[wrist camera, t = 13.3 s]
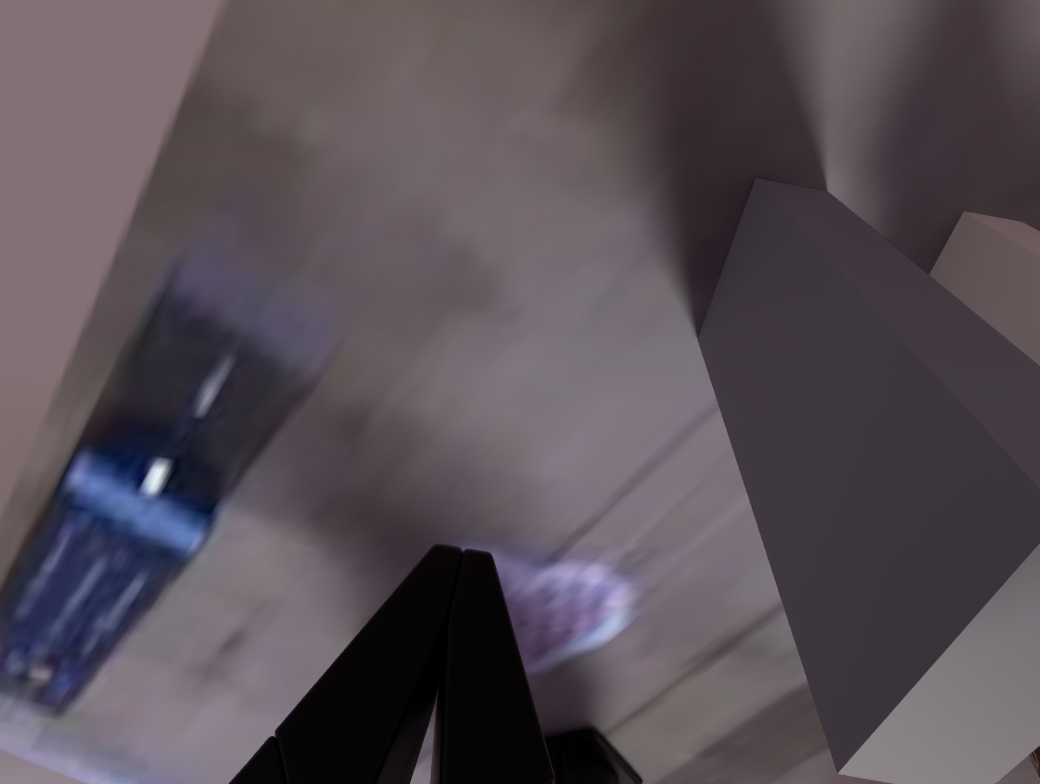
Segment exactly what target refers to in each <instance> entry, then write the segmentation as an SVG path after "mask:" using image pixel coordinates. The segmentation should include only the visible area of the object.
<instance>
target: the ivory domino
mask: <svg viewBox="0 0 1040 784" xmlns="http://www.w3.org/2000/svg"><path fill="white" fill-rule="evenodd" d="M929 275H930V276H931V277H932V278H934V279H935V280H936V281H937V282H938V283H940V284H941V285H942V286H943V287H945V288H946V289H947V290H948V291H949V292H951V293H952V294H953V295H954V296H955V297H957V298H958V299H959V300H960V301H962V302H963V303H964V304H965V305H966V306H968V307H969V308H970V309H971V310H972V311H974V312H975V313H976V314H977V315H979V316H980V317H981V318H982V319H983V320H985V321H986V322H987V323H988V324H989V325H991V326H992V327H993V328H994V329H996V330H997V331H998V332H999V333H1000V334H1002V335H1003V336H1004V337H1005V338H1006V339H1008V340H1009V341H1010V342H1011V343H1012V344H1014V345H1015V346H1016V347H1017V348H1019V349H1020V350H1021V351H1022V352H1023V353H1025V354H1026V355H1027V356H1028V357H1029V358H1031V359H1032V360H1033V361H1034V362H1036V363H1037V364H1038V365H1039V366H1040V231H1038V230H1036V229H1034V228H1033V227H1031V226H1029V225H1027V224H1025V223H1023V222H1020V221H1015V220H1009V219H1004V218H998V217H993V216H987V215H982V214H976V213H971V212H965V211H964V212H963V214H962V215H961V217H960V219H959V221H958V223H957V225H956V226H955V228H954V230H953V232H952V234H951V236H950V237H949V239H948V241H947V243H946V245H945V247H944V248H943V250H942V252H941V254H940V256H939V258H938V259H937V261H936V263H935V265H934V267H933V269H932V270H931V272H930V274H929Z"/></svg>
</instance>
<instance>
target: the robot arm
mask: <svg viewBox="0 0 1040 784" xmlns="http://www.w3.org/2000/svg"><path fill="white" fill-rule="evenodd" d="M438 688H439V689H438ZM437 692H438V697H437ZM436 697H437V705H436V714H435V725H434V739H433V752H432V765H431V778H430V784H642V783H641V782H640V781H639V780H638V779H637V778H636V776H635V775H634V774H633V773H632V772H631V771H630V770H629V769H628V768H627V766H626V765H625V764H624V763H623V762H622V761H621V760H620V759H619V758H618V756H617V755H616V754H615V753H614V752H613V751H612V750H611V749H610V748H609V746H608V745H607V744H606V743H605V742H604V741H603V740H602V739H601V738H600V736H599V735H598V734H597V733H596V732H594V731H592V730H582V731H578V732H573V733H569V734H565V735H561V736H557V737H553V738H548V739H544V736H543V733H542V729H541V726H540V722H539V718H538V715H537V711H536V708H535V704H534V701H533V697H532V694H531V690H530V687H529V683H528V679H527V676H526V672H525V669H524V665H523V662H522V658H521V655H520V651H519V647H518V644H517V640H516V637H515V633H514V630H513V626H512V623H511V619H510V616H509V612H508V608H507V605H506V601H505V598H504V594H503V591H502V587H501V584H500V580H499V576H498V573H497V569H496V566H495V562H494V559H493V556H492V555H491V553H489V552H486V551H480V550H474V549H465V550H464V551H462V549H461V548H460V547H456V546H450V545H444V544H435V545H434V546H433V547H432V548H431V549H430V550H429V551H428V552H427V553H426V554H425V556H424V557H423V558H422V559H421V560H420V562H419V563H418V564H417V565H416V566H415V567H414V569H413V570H412V571H411V572H410V573H409V574H408V576H407V577H406V578H405V579H404V580H403V581H402V583H401V584H400V585H399V586H398V587H397V588H396V590H395V591H394V592H393V593H392V594H391V595H390V597H389V598H388V599H387V600H386V601H385V603H384V604H383V605H382V606H381V607H380V608H379V610H378V611H377V612H376V613H375V614H374V615H373V617H372V618H371V619H370V620H369V621H368V622H367V624H366V625H365V626H364V627H363V628H362V629H361V631H360V632H359V633H358V634H357V635H356V636H355V638H354V639H353V640H352V641H351V642H350V644H349V645H348V646H347V647H346V648H345V649H344V651H343V652H342V653H341V654H340V655H339V656H338V658H337V659H336V660H335V661H334V662H333V663H332V665H331V666H330V667H329V668H328V669H327V670H326V672H325V673H324V674H323V675H322V676H321V677H320V679H319V680H318V681H317V682H316V683H315V685H314V686H313V687H312V688H311V689H310V690H309V692H308V693H307V694H306V695H305V696H304V697H303V699H302V700H301V701H300V702H299V703H298V704H297V706H296V707H295V708H294V709H293V710H292V711H291V713H290V714H289V715H288V716H287V717H286V719H285V720H284V721H283V722H282V723H281V724H280V726H279V727H278V728H277V729H276V730H275V737H274V736H270V737H269V738H268V739H267V740H266V742H265V743H264V744H263V745H262V746H261V747H260V749H259V750H258V751H257V752H256V753H255V754H254V756H253V757H252V758H251V759H250V760H249V761H248V763H247V764H246V765H245V766H244V767H243V768H242V769H241V770H240V772H239V773H238V774H237V775H236V776H235V777H234V778H233V779H232V780H231V782H230V783H229V784H410V782H411V779H412V775H413V772H414V769H415V766H416V763H417V760H418V757H419V753H420V750H421V747H422V744H423V741H424V738H425V735H426V731H427V728H428V725H429V722H430V719H431V715H432V712H433V708H434V705H435V701H436Z"/></svg>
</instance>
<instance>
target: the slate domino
mask: <svg viewBox="0 0 1040 784" xmlns="http://www.w3.org/2000/svg"><path fill="white" fill-rule="evenodd" d="M698 343H699V346H700V349H701V352H702V355H703V358H704V361H705V364H706V367H707V370H708V374H709V377H710V380H711V383H712V386H713V389H714V392H715V395H716V398H717V401H718V405H719V408H720V411H721V414H722V417H723V420H724V423H725V426H726V429H727V432H728V436H729V439H730V442H731V445H732V448H733V451H734V454H735V457H736V460H737V463H738V467H739V470H740V473H741V476H742V479H743V482H744V485H745V488H746V491H747V494H748V498H749V501H750V504H751V507H752V510H753V513H754V516H755V519H756V522H757V526H758V529H759V532H760V535H761V538H762V541H763V544H764V547H765V550H766V553H767V557H768V560H769V563H770V566H771V569H772V572H773V575H774V578H775V581H776V584H777V588H778V591H779V594H780V597H781V600H782V603H783V606H784V609H785V612H786V615H787V619H788V622H789V625H790V628H791V631H792V634H793V637H794V640H795V643H796V646H797V650H798V653H799V656H800V659H801V662H802V665H803V668H804V671H805V674H806V677H807V681H808V684H809V687H810V690H811V693H812V696H813V699H814V702H815V705H816V708H817V712H818V715H819V718H820V721H821V724H822V727H823V730H824V733H825V736H826V739H827V743H828V746H829V749H830V752H831V755H832V758H833V761H834V764H835V767H836V770H837V774H842V775H848V776H853V777H859V778H865V779H870V780H876V781H881V782H887V783H893V784H995V783H996V782H998V781H999V780H1000V779H1001V778H1002V777H1003V776H1005V775H1006V774H1007V773H1008V772H1009V771H1010V770H1012V769H1013V768H1014V767H1015V766H1016V765H1018V764H1019V763H1020V762H1021V761H1022V760H1023V759H1025V758H1026V757H1027V756H1028V755H1029V754H1030V753H1032V752H1033V751H1034V750H1035V749H1036V748H1037V747H1039V746H1040V366H1039V365H1038V364H1037V363H1036V362H1034V361H1033V360H1032V359H1031V358H1029V357H1028V356H1027V355H1026V354H1025V353H1023V352H1022V351H1021V350H1020V349H1019V348H1017V347H1016V346H1015V345H1014V344H1012V343H1011V342H1010V341H1009V340H1008V339H1006V338H1005V337H1004V336H1003V335H1002V334H1000V333H999V332H998V331H997V330H996V329H994V328H993V327H992V326H991V325H989V324H988V323H987V322H986V321H985V320H983V319H982V318H981V317H980V316H979V315H977V314H976V313H975V312H974V311H972V310H971V309H970V308H969V307H968V306H966V305H965V304H964V303H963V302H962V301H960V300H959V299H958V298H957V297H955V296H954V295H953V294H952V293H951V292H949V291H948V290H947V289H946V288H945V287H943V286H942V285H941V284H940V283H938V282H937V281H936V280H935V279H934V278H932V277H931V276H930V275H929V274H928V273H926V272H925V271H924V270H923V269H921V268H920V267H919V266H918V265H917V264H915V263H914V262H913V261H912V260H911V259H909V258H908V257H907V256H906V255H905V254H903V253H902V252H901V251H900V250H898V249H897V248H896V247H895V246H894V245H892V244H891V243H890V242H889V241H888V240H886V239H885V238H884V237H883V236H881V235H880V234H879V233H878V232H877V231H875V230H874V229H873V228H872V227H871V226H869V225H868V224H867V223H866V222H864V221H863V220H862V219H861V218H860V217H858V216H857V215H856V214H855V213H854V212H852V211H851V210H850V209H849V208H847V207H846V206H845V205H844V204H843V203H841V202H840V201H839V200H838V199H837V198H835V197H834V196H833V195H832V194H831V193H829V192H828V191H823V190H818V189H813V188H808V187H802V186H797V185H792V184H787V183H781V182H776V181H771V180H766V179H761V178H755V180H754V183H753V186H752V189H751V191H750V194H749V197H748V200H747V202H746V205H745V208H744V211H743V214H742V216H741V219H740V222H739V225H738V227H737V230H736V233H735V236H734V239H733V241H732V244H731V247H730V250H729V252H728V255H727V258H726V261H725V264H724V266H723V269H722V272H721V275H720V277H719V280H718V283H717V286H716V289H715V291H714V294H713V297H712V300H711V302H710V305H709V308H708V311H707V314H706V316H705V319H704V322H703V325H702V327H701V330H700V333H699V336H698Z"/></svg>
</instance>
